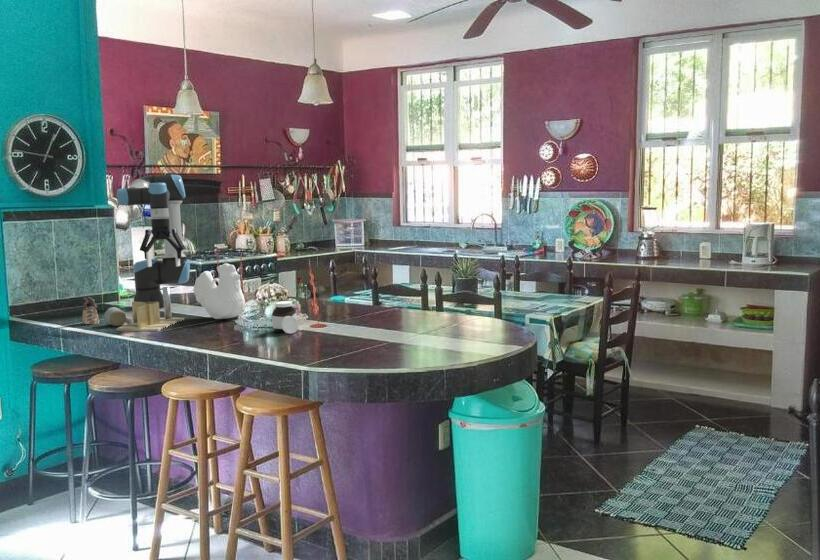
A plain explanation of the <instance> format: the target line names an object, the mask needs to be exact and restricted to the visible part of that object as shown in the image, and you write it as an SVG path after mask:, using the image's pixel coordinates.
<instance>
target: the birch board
mask: <svg viewBox="0 0 820 560" xmlns="http://www.w3.org/2000/svg"><path fill="white" fill-rule="evenodd" d="M182 320H183V321H185V317H172V319H165V317H160V323H159V324H155V325H148V326H146V327H143V328H141V329H138V322H134V321H132V323H130V324H129V323H127V324H125V325H124V324H123V325H121V326H118V327H117V328H115V330H116V332H159V331H161V329H162V330H164V329H166V328H168V326H169V327H171V326H173V325H175V323H176V324H178V323H180V322H182ZM179 321H180V322H179ZM177 322H178V323H177ZM172 324H173V325H172ZM170 325H171V326H170ZM165 327H166V328H165ZM163 328H164V329H163Z"/></svg>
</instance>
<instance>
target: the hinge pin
mask: <svg viewBox="0 0 820 560" xmlns="http://www.w3.org/2000/svg"><path fill="white" fill-rule="evenodd" d="M170 289H171V287H170V286H163V287H162V295H163V301H164V306H163V310H164V311H163V312H164V318H165V319H172V318H173V316H172V315H173V314H172V303H171V290H170Z"/></svg>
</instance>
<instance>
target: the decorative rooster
mask: <svg viewBox="0 0 820 560" xmlns="http://www.w3.org/2000/svg"><path fill="white" fill-rule="evenodd" d="M216 269H217V272H218V275H219V277H215V278H214V276H213V275H212V273H211V272H210V270H205V271H203V272H201V273H200V274H199V276H198V277H197V278H196V279H195V283H194V286H193V288H192V289H193V294H194V296H195V299H196V301H197V303H198V304H200V305H201V307H203V308H204V309H205V311H206V312H207V313H208V315H209V316H210V317H212V318H213V319H214V320H223V319H225V320H226V319H233V318H237V317H236V316H238V315H239V314H241V312H242V309H243V306H244V304H245V305H246V300H245V296H244V293H243V291H242V288H241V280H240V278H241V274H239V273H238V271H237V269H236V267H235V265H234V264H230V263H223V264H220V265H219V266H217V268H216ZM216 282H217V283H218V285H217V284H216ZM241 315H242V314H241ZM239 316H240V315H239ZM239 316H238V317H239Z"/></svg>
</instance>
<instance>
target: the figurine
mask: <svg viewBox="0 0 820 560" xmlns="http://www.w3.org/2000/svg"><path fill="white" fill-rule="evenodd" d="M82 299H83V301H84V302H83V304H82V308H83V310H82V315H81V316H82V317H81V322H82V325H83V324H86V325H85V326H88V325H87V324H94V325H98V324H100V323H101V322H100V321H101V320H100V318H99V315H98V311H97V309H98V306H97V304H96V302H95V299H94V298H92V297H90V296H87V297H83V298H82ZM99 322H100V323H99ZM97 323H98V324H97Z"/></svg>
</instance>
